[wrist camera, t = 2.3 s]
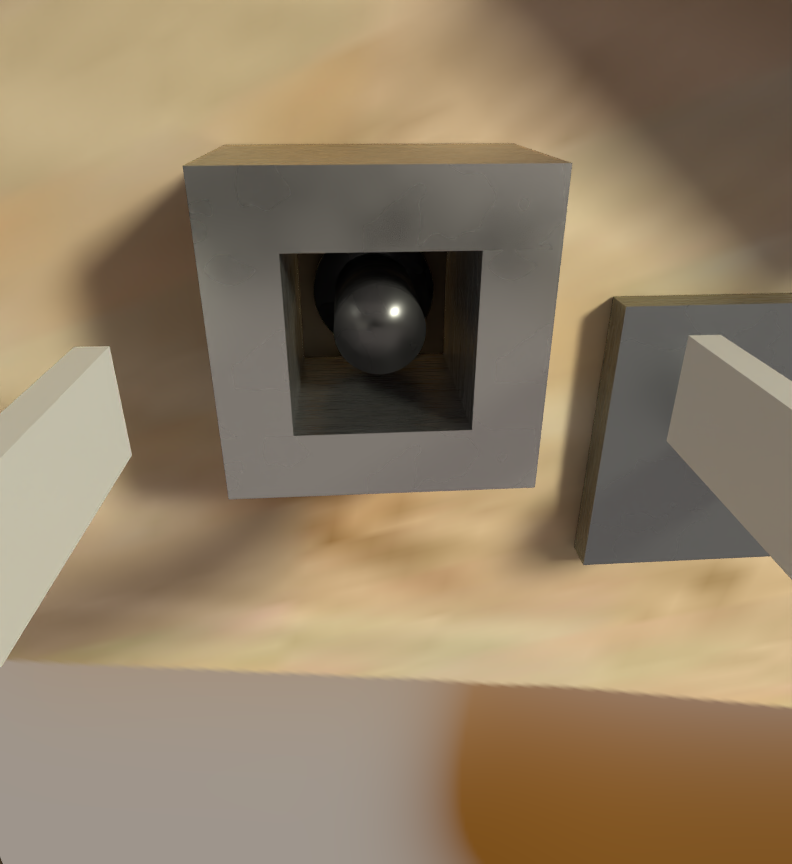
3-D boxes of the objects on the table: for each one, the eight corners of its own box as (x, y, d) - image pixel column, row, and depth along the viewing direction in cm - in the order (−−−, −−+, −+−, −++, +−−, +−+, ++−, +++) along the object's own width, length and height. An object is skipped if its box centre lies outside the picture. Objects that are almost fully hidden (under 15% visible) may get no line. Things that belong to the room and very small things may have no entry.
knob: (317, 343, 23) (312, 398, 19) (310, 227, 22) (303, 260, 18) (429, 341, 24) (447, 394, 20) (432, 226, 22) (453, 258, 18)
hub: (574, 547, 29) (654, 706, 21) (613, 296, 23) (736, 392, 16) (818, 536, 29) (978, 686, 22) (907, 290, 24) (1154, 379, 17)
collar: (253, 409, 24) (229, 499, 19) (224, 144, 20) (182, 165, 15) (493, 402, 25) (534, 487, 20) (513, 143, 21) (571, 163, 16)
